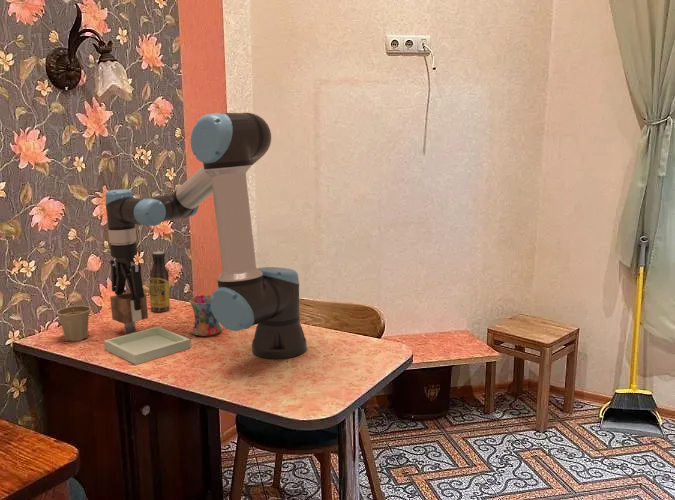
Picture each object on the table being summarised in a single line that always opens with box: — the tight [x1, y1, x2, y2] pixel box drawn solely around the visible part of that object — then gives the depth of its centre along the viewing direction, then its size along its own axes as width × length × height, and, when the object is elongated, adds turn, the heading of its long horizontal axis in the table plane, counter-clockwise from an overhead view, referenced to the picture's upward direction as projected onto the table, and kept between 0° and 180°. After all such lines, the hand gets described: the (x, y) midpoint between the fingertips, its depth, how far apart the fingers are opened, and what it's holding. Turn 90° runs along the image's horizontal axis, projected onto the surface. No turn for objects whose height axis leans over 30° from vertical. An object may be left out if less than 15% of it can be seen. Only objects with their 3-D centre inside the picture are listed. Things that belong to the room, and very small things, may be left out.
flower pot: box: [56, 305, 92, 342], centre depth 195 cm, size 9×9×9 cm
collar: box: [109, 291, 149, 324], centre depth 198 cm, size 8×8×7 cm
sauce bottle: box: [149, 250, 171, 313], centre depth 221 cm, size 6×6×20 cm
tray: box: [103, 326, 192, 366], centre depth 186 cm, size 17×17×3 cm
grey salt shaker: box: [124, 321, 136, 335], centre depth 199 cm, size 4×4×9 cm
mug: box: [188, 294, 222, 337], centre depth 199 cm, size 12×9×11 cm
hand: (130, 317), depth 198 cm, fingers closed on collar, 7 cm apart
